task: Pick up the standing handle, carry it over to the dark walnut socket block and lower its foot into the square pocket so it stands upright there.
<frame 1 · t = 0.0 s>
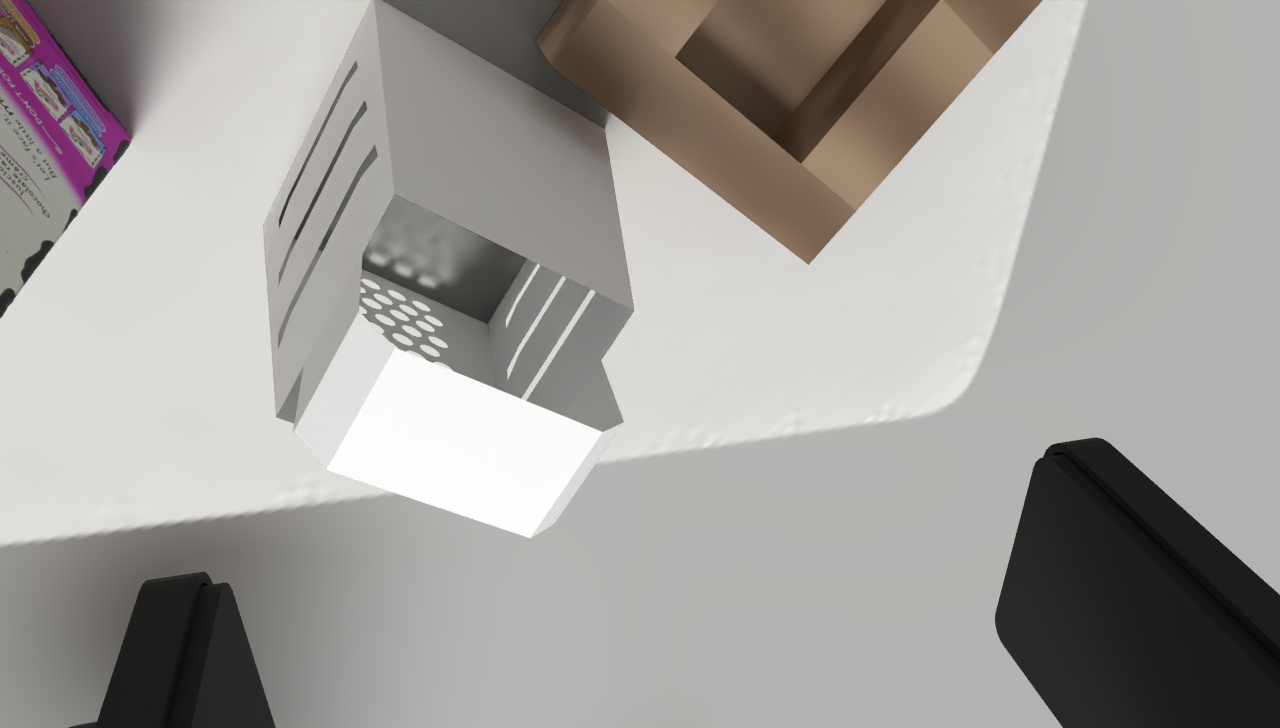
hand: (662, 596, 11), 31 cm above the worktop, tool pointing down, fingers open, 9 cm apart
socket block: (769, 5, 39), on the worktop
grater: (436, 175, 40), on the worktop
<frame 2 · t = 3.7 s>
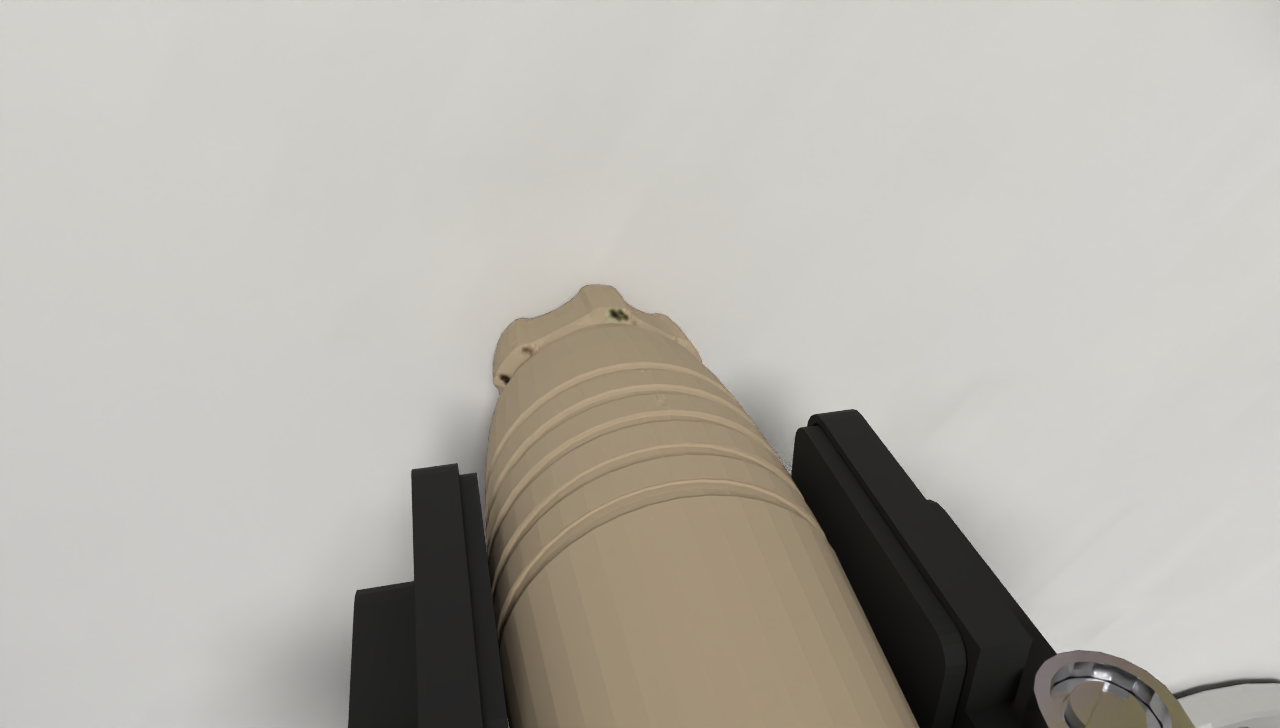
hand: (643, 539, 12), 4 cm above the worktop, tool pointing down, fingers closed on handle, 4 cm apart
handle: (582, 360, 15), on the worktop, touching gripper
when the fingers open (7 cm above the worktop, at t = 9.9 s): handle drops 1 cm, resting on socket block.
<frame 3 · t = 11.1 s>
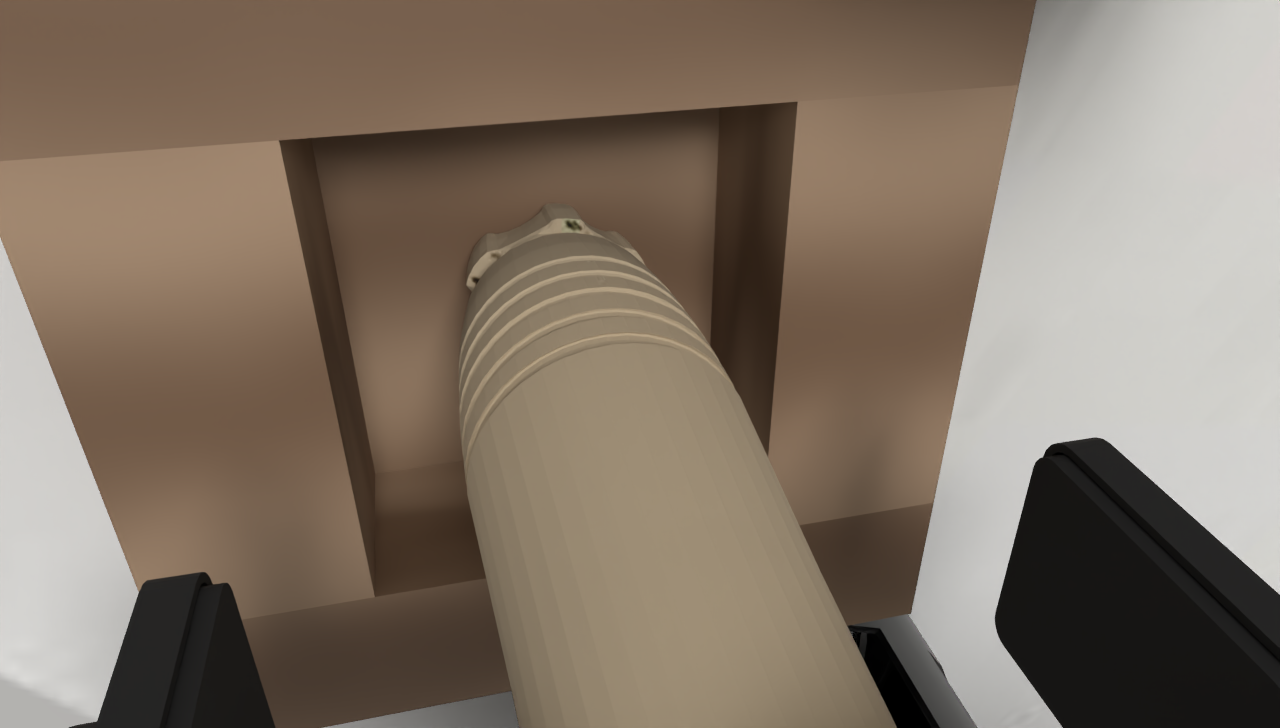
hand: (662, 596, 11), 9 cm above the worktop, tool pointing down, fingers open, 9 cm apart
handle: (546, 273, 18), point 1 cm above the worktop, touching socket block
french press: (752, 654, 26), on the worktop
socket block: (527, 255, 18), on the worktop
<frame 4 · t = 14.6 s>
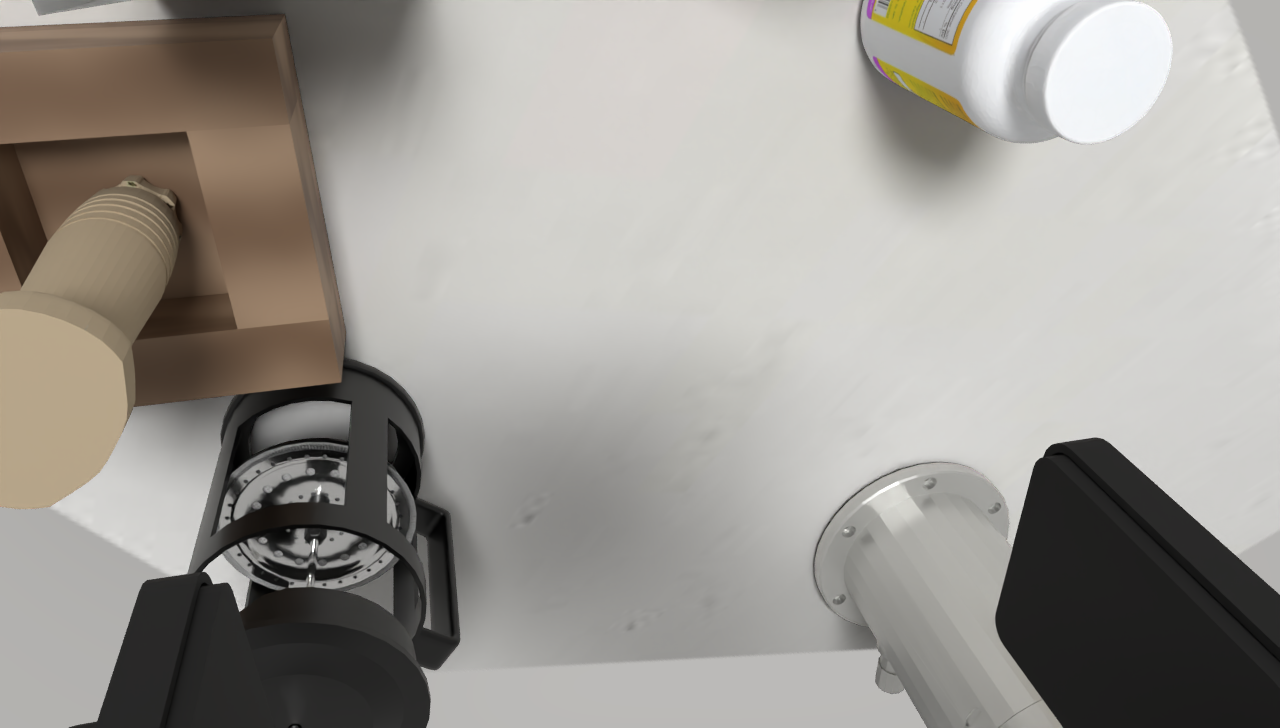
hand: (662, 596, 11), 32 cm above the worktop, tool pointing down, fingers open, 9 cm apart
handle: (142, 209, 38), point 1 cm above the worktop, touching socket block
french press: (335, 440, 46), on the worktop
socket block: (140, 201, 38), on the worktop
supplement bottle: (922, 6, 42), on the worktop
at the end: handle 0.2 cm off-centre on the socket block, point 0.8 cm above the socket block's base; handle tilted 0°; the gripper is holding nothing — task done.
